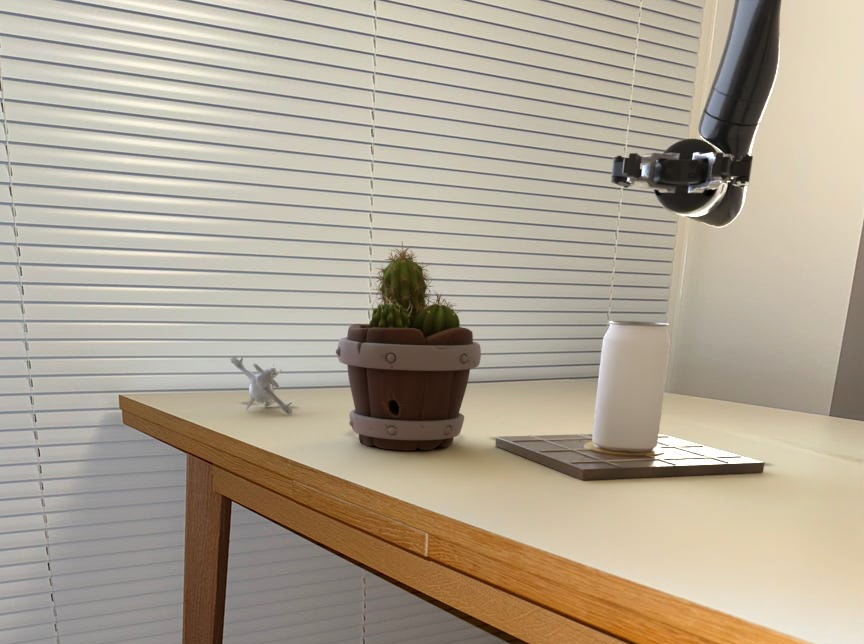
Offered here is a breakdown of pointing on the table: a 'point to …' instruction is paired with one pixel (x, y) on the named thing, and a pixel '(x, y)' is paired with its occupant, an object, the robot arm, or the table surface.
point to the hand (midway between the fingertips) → (674, 164)
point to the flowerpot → (408, 364)
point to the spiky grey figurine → (262, 385)
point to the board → (626, 458)
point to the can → (631, 386)
